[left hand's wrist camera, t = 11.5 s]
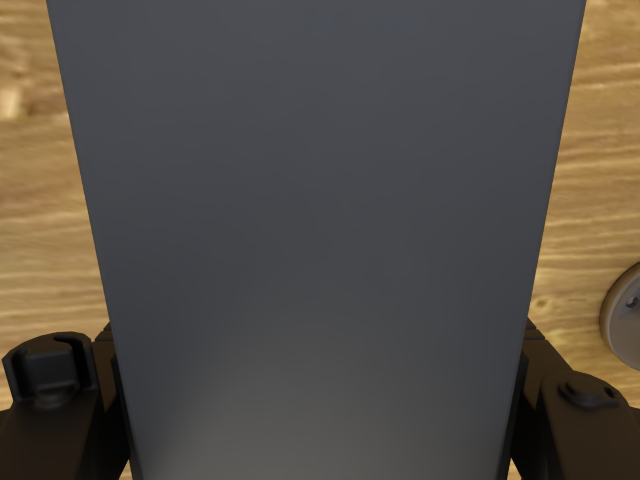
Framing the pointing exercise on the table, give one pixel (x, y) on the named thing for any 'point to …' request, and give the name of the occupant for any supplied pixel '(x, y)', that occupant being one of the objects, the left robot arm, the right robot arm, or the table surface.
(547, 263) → the table surface
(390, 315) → the bar
